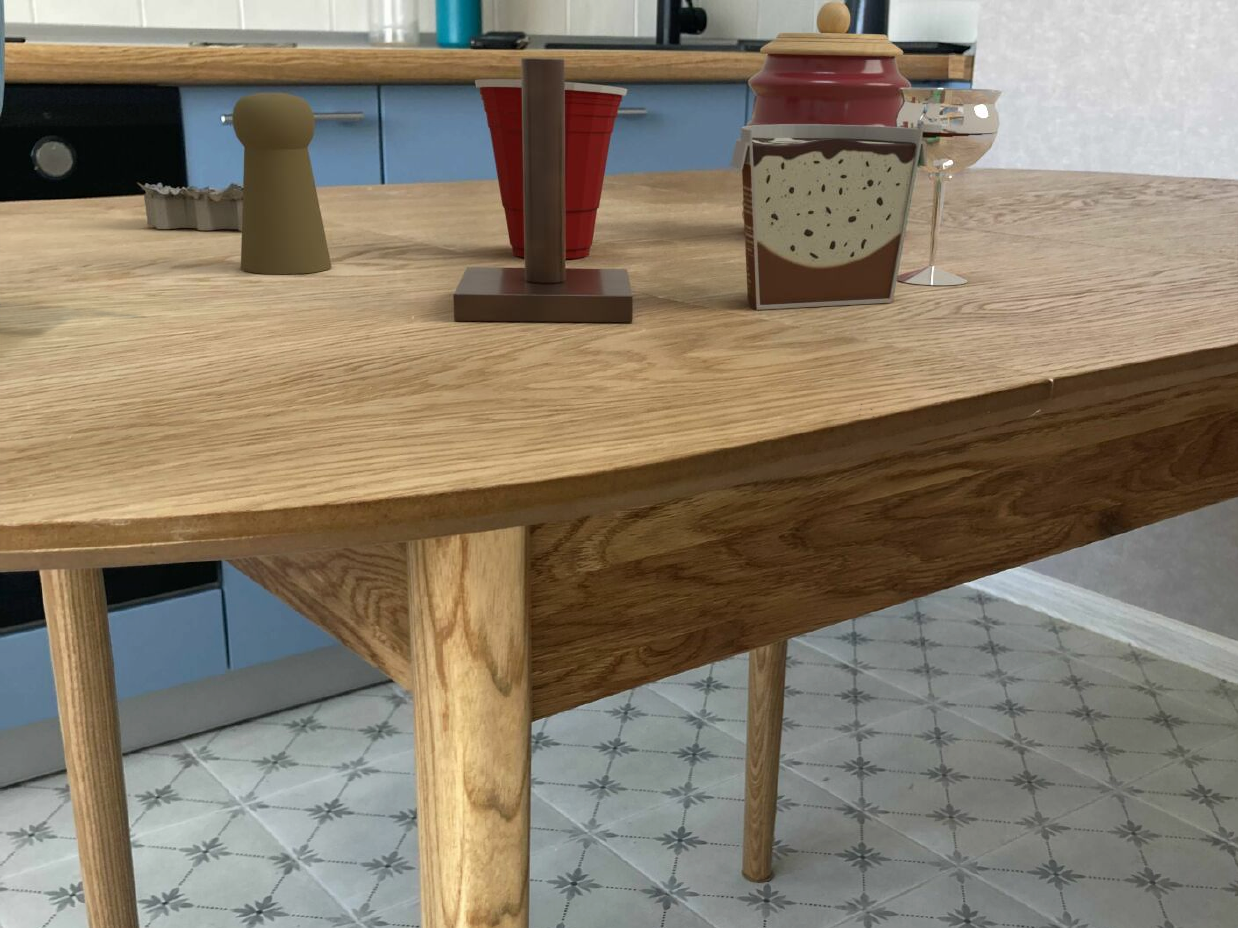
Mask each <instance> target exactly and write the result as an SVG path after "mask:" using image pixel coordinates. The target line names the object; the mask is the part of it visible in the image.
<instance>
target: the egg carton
mask: <svg viewBox="0 0 1238 928" xmlns="http://www.w3.org/2000/svg"><path fill="white" fill-rule="evenodd" d="M136 184H137V185H139V187H140V189H141V190H142V191H145V194H144V195H143V196H144V197H143V201H144V205H145V213H146V220H147V221H146V223H147V225H149V226H150V227H154V228H156V229H157V230H171V229H196V230H198V231H213V230H214V231H215V230H236V231H239V232H241V233H242V209H243V184H239V183H237V182H231V183H230V184H229V185H228V187H224V188H215V187H210V186H209V185H208V186H206V187H203V188H198V187H197V186H195V185H191V186H186V187H185V186H182V187H181V188H180V186H177V187H176V188H174V187H171V186H170V185H163V183H162V182H158V183H157V184H149V183H148V182H147V183H145V184H144V185H143V184H141V183H139V182H136Z"/></svg>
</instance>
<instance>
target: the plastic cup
mask: <svg viewBox="0 0 1238 928" xmlns="http://www.w3.org/2000/svg"><path fill="white" fill-rule="evenodd" d="M474 83H475V87H476V89H479V94H480V96H481V100H482V102H483V109H484V110H483V111H484V112H485V114H486V115H485V116H486V121H487V122H486V123H487V127H488V129H489V134H490V138H491V140H490V141H491V144H492V151H493V158H494V163H495V169H496V170H495V171H496V175H497V182H498V188H499V193H500V199H501V206H502V207H503V210H504V215H505V216H504V217H505V221H506V227H507V228H506V229H507V234H508V239H509V244H510V246H511V250H512V254H513V255H514V256H516V257H520V258H525V256H524V197H523V137H522V79H516V78H515V79H514V78H513V79H511V78H507V79H506V78H485V79H483V78H481V79H475V80H474ZM627 93H628V88H624V87H620V86H611V85H604V84H594V83H582V82H571V81H570V82H569V81H565V256H566V260H568V259H570V260H571V259H580V258H583V257H584V258H585V257H588V256H589V255H590V253H591V247H592V245H593V241H594V233H595V227H596V221H597V214H598V209H599V208H600V204H601V198H602V192H603V187H604V186H603V185H604V179H605V173H606V168H607V167H606V166H607V161H608V155H609V149H610V142H611V137H612V133H614V127H615V121H616V118H617V117H618V113H619V112H618V111H619V107H620V106H621V102H623V97H626V96H627Z"/></svg>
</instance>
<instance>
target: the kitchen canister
mask: <svg viewBox="0 0 1238 928" xmlns="http://www.w3.org/2000/svg"><path fill="white" fill-rule="evenodd" d="M850 25H851V13H850V10H849V8H848V6H847V5H846V4H844V2H841V1H829V2H826V3H823V5H822V6H821V7H820V9H819V10H818V12H817V16H816V28H817V30H818V32H779V33H778V34H777V36H776V37H775V38H774V39H772V40H771V41H770V42H768V43H766V44H765V45H763V46H762V47H760V49H759V51H760V52H759V53H760V54H762V55H763V54H764V55H766V58H765V60H764V63H763V66H762V67H761V70H759V71H758V72H757V73H756V74H754V75H752V76H751V77H750V78H749V79H748V80H747V84H748V86H749V87H750V89H751V90H752V92H753V96H754V97H753V107H752V115H751V119H750V120H749V121H748V122H747V123H746V124H745V126H753V125H778V124H823V125H861V126H884V127H895V123H894V121H895V118H896V114H897V111H898V110H899V108H900V107H901V105H902V103H903V99H902V96H901V93H900V91H899V89H898V88H912V84H911V82H910V81H909V80H908V79H907V78H906V77H904V76H903V75H902V74H901V73H900V71H899V68H898V64H897V63H898V62H897V59H896V57H902V56H903V55H904V51H903V50H902V49H901V48H900V47H898V45H896V44H894V43H893V42H892V41H891V40H889V37H888V35H886V34H879V33H878V34H877V33H875V34H874V33H847V31H848V30H849V28H850ZM741 216H742V219H743V221H744V204H743V202H742V211H741ZM743 228H744V229H743V231H744V232H745V227H744V226H743Z"/></svg>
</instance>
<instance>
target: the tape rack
mask: <svg viewBox="0 0 1238 928" xmlns="http://www.w3.org/2000/svg"><path fill="white" fill-rule="evenodd" d="M565 62H566V60H565V58H554V57H553V58H551V57H548V58H547V57H522V58H521V59H520V69H521V71H520V72H521V73H520V75H521V78H520V79H521V80H522V137H523V197H524V256H525V257H524V267H495V266H493V267H492V266H491V267H489V266H488V267H487V266H486V267H485V266H482V267H481V266H467V267H466V268H465V271H464V272H463V274H462V276H461V279H460V280H459V283H458V284H457V286H456V289H455V291H454V292H453V294H452V302H453V320H454V321H455V322H513V323H514V322H516V323H517V322H518V323H519V322H521V323H524V322H525V323H527V322H529V323H612V324H613V323H614V324H615V323H616V324H617V323H618V324H622V323H623V324H625V323H626V324H627V323H628V324H629V323H631V324H632V323H633V316H634V315H633V313H634V312H633V311H634V310H633V308H634V304H633V303H634V297H633V292H632V287H631V282H630V278H629V273H628V269H627V268H579V267H578V268H576V267H575V268H572V267H571V268H570V267H569V268H568V267H566V266H567V265H566V262H567V261H566V260H567V259H566V256H565V82H566V81H565V80H566V79H565V78H566V77H565V75H566V72H565V69H566V67H565V65H566V63H565Z"/></svg>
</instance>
